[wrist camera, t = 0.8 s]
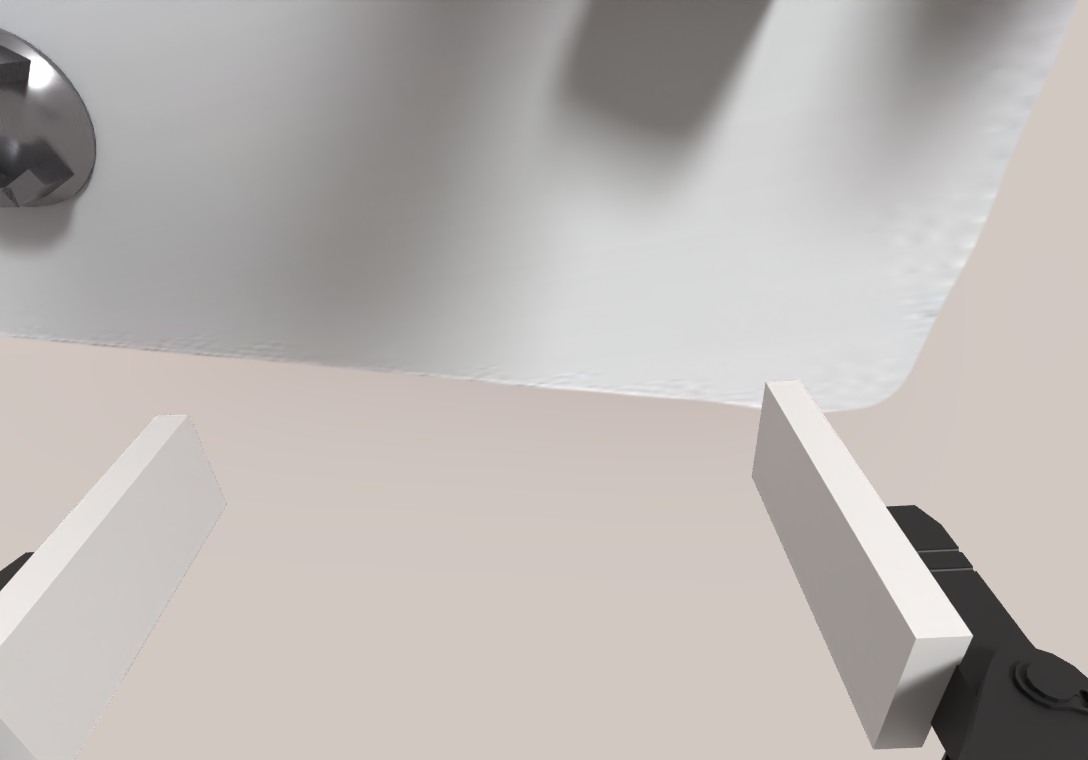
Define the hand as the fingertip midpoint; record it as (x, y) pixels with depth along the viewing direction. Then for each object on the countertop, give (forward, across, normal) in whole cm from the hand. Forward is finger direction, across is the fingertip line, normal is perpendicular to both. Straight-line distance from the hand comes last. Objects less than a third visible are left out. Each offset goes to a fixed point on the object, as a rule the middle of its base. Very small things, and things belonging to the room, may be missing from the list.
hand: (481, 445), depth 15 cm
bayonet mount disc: (+32, -33, +4) cm, 46 cm away
